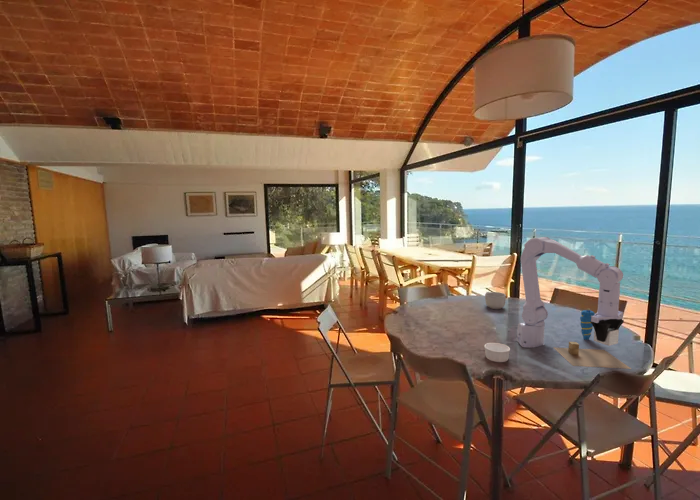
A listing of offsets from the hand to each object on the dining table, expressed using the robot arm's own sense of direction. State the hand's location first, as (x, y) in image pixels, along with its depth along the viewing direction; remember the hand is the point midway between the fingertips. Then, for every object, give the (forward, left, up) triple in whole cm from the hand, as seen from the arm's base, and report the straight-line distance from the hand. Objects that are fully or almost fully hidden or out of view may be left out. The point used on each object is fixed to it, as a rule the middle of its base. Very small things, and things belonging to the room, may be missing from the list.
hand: (605, 339), depth 118 cm
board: (-3, +3, -9) cm, 10 cm away
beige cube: (0, 0, -1) cm, 1 cm away
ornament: (+5, +22, -10) cm, 24 cm away
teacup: (-19, +73, -10) cm, 76 cm away
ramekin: (-35, +2, -10) cm, 37 cm away
